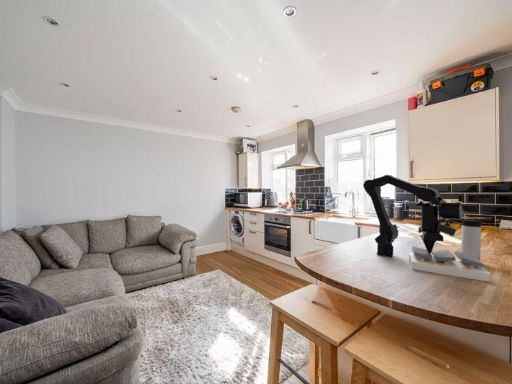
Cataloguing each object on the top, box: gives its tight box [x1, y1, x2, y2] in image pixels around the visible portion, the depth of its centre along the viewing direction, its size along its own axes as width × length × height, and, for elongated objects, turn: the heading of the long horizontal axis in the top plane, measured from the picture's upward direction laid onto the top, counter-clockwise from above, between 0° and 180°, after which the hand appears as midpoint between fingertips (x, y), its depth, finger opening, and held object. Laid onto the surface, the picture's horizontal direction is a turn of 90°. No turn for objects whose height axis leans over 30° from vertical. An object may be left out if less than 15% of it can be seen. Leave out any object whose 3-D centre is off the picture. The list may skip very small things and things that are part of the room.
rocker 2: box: [431, 249, 457, 261], centre depth 91 cm, size 6×11×1 cm, turn 148°
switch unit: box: [408, 252, 491, 282], centre depth 90 cm, size 23×15×4 cm, turn 58°
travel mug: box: [460, 218, 482, 262], centre depth 98 cm, size 6×7×20 cm
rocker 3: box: [453, 250, 485, 268], centre depth 87 cm, size 6×11×1 cm, turn 149°
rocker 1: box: [411, 246, 433, 260], centre depth 95 cm, size 6×11×1 cm, turn 149°
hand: (429, 252), depth 93 cm, fingers closed
